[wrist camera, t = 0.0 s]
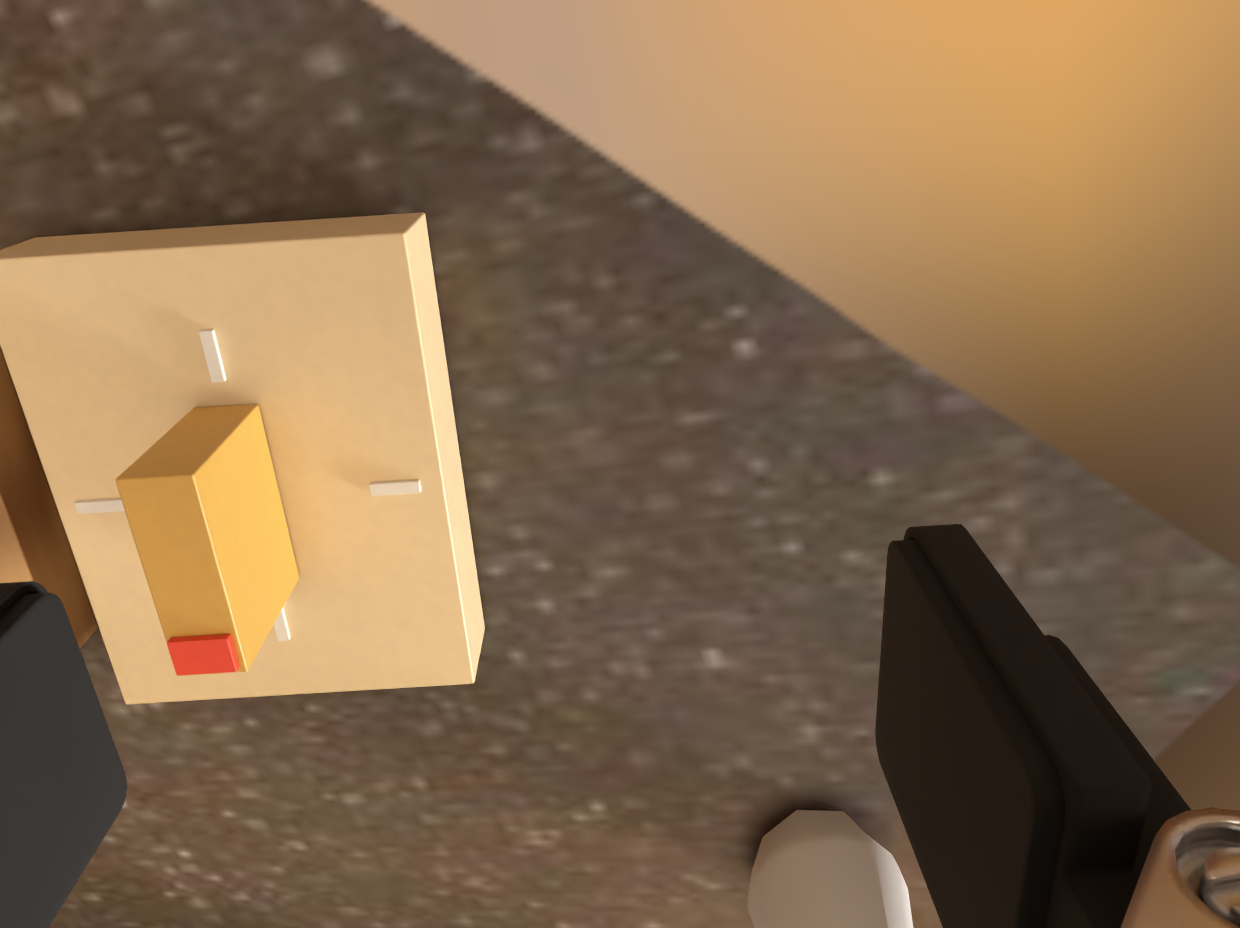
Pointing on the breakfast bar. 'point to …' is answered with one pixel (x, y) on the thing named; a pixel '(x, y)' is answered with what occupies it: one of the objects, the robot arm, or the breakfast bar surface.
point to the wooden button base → (34, 519)
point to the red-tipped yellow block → (211, 537)
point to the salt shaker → (825, 877)
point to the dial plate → (294, 426)
